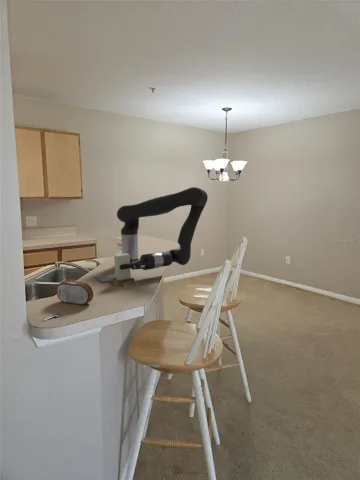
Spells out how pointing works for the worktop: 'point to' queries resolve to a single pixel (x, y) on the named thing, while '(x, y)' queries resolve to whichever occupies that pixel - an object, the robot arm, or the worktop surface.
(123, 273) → the sage green upright pillar
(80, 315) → the worktop surface
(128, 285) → the offcut top
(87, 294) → the tin
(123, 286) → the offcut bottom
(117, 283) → the rack
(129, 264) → the robot arm
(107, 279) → the mat
